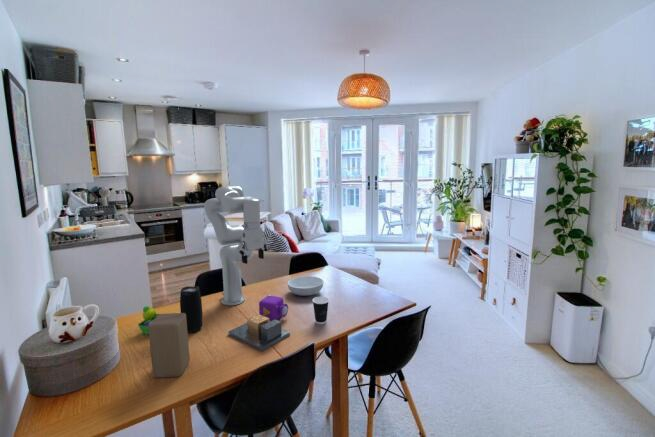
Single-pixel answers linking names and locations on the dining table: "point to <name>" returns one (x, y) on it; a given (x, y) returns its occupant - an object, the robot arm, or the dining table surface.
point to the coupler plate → (253, 338)
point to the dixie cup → (320, 309)
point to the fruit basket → (147, 319)
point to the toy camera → (273, 307)
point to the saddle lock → (256, 324)
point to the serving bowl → (305, 285)
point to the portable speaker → (191, 307)
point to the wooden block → (169, 344)
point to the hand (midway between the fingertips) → (253, 260)
